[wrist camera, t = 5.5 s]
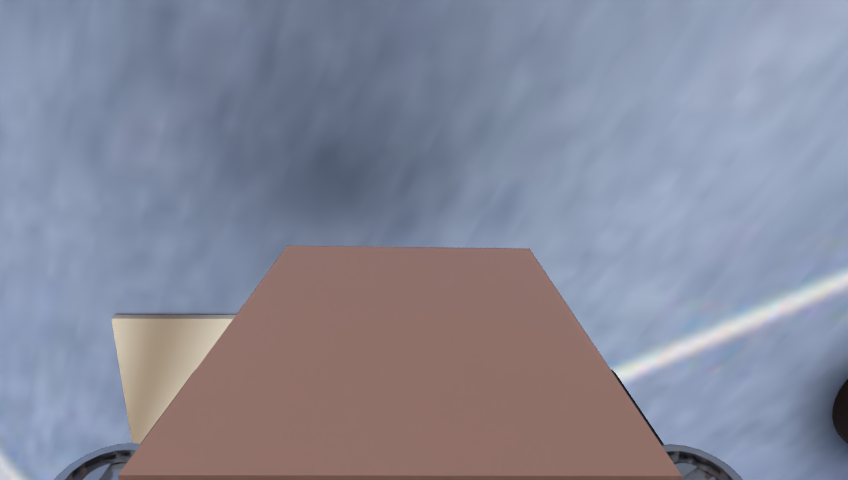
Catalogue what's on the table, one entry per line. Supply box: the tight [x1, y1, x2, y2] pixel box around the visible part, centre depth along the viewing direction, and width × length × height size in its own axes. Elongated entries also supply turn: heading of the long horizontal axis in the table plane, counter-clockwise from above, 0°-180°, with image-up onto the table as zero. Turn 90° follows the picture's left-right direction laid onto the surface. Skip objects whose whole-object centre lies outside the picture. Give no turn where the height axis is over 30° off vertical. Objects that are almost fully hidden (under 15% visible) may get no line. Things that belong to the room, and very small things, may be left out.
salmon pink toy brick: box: [118, 246, 682, 480], centre depth 9 cm, size 5×5×7 cm
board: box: [111, 315, 236, 444], centre depth 29 cm, size 16×13×1 cm
